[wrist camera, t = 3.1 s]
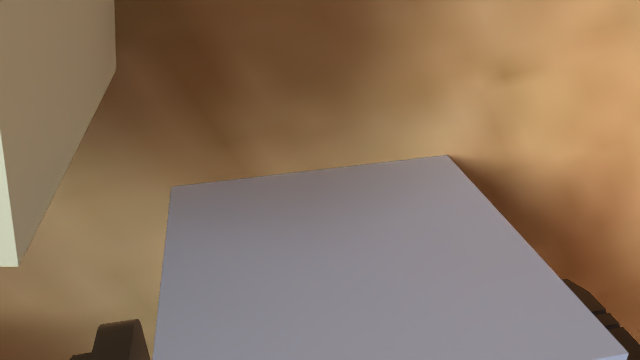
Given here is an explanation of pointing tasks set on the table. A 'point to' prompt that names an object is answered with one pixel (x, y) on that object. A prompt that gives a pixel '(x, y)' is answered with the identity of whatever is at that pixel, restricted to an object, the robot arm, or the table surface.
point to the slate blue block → (361, 272)
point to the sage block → (46, 103)
